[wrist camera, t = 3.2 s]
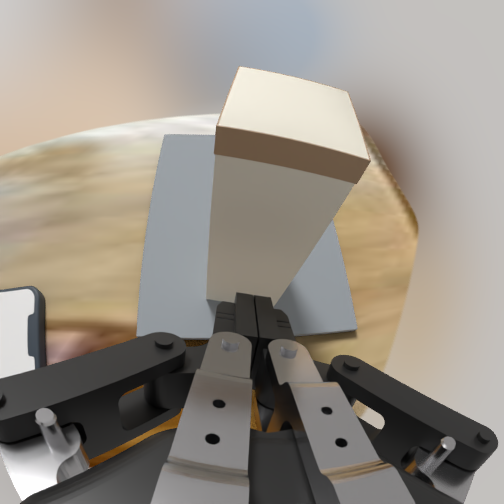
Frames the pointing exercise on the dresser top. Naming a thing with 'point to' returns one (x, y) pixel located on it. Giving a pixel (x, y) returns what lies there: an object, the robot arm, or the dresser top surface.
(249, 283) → the cream block
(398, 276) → the dresser top surface
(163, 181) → the rubber mat
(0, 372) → the dark grey smartphone
